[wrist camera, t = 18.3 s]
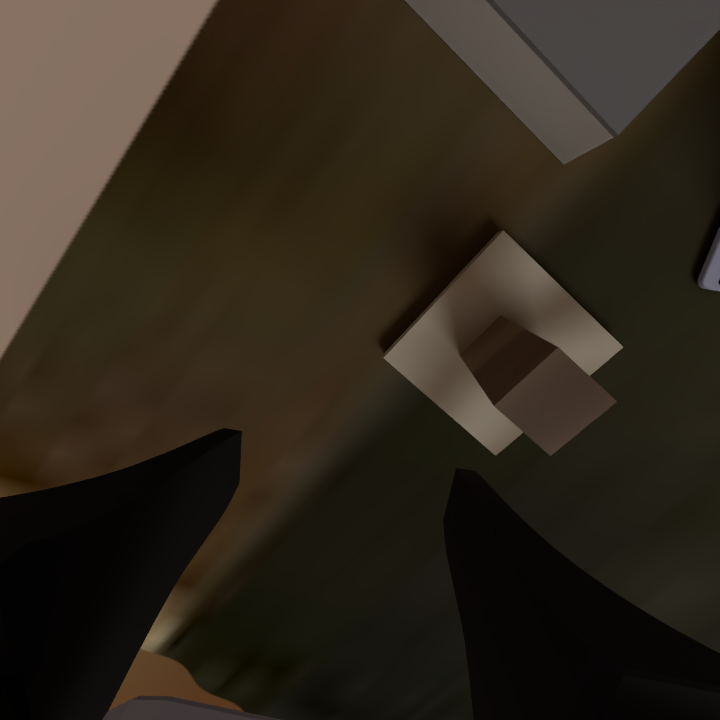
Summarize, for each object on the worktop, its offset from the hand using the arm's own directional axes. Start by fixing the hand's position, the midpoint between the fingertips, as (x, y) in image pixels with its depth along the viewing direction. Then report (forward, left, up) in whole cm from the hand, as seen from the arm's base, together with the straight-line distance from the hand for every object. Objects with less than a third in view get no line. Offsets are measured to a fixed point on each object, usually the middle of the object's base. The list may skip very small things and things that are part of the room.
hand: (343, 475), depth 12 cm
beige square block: (-7, -3, -10) cm, 13 cm away
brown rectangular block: (-7, -3, -9) cm, 12 cm away
